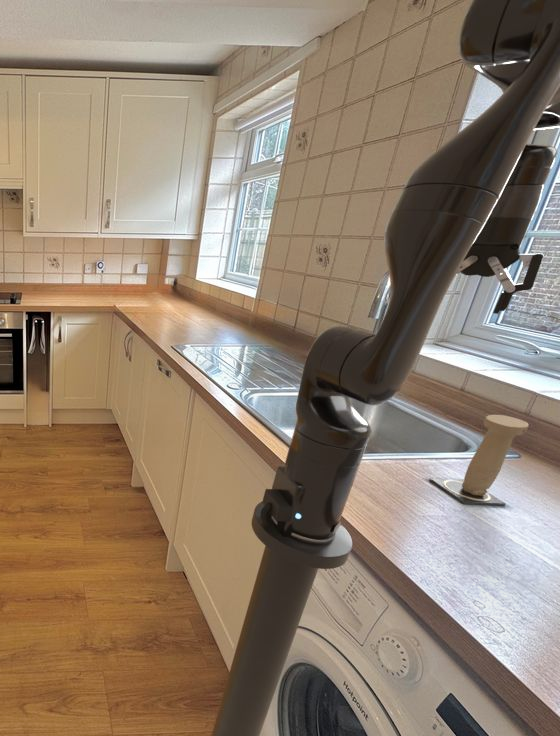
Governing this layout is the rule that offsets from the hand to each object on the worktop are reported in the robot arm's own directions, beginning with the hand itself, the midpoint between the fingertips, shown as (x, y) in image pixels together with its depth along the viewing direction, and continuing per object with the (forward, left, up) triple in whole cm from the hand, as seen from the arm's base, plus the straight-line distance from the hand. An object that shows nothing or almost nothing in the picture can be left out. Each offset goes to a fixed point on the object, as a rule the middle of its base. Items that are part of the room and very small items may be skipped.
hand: (463, 309), depth 76 cm
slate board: (+4, -11, -33) cm, 35 cm away
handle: (+4, -11, -33) cm, 35 cm away
